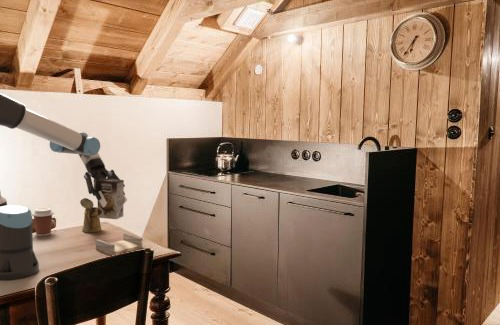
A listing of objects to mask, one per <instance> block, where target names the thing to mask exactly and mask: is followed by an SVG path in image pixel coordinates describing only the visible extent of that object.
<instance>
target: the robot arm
mask: <svg viewBox="0 0 500 325" xmlns="http://www.w3.org/2000/svg"><path fill="white" fill-rule="evenodd" d="M0 126H1V127H6V128H9V129H10V130H11V129H12V130H13V129H14V130H15V129H19V130H21V131H24V132H26V133H29V134H30V135H33V136H36V137H39V138H41V139H44V140H46V141H48V142H49V148H50V150H51V151H52V152H54V153H62V154H75V155H78V156H79V158H80V160H81V162H82V163H83V165H84V167H85V169H86V171H85V173H84V175H83V179H85V182H86V186H87V192H88V194H89V195H91V194H92V196H94V197H95V198H96V200H97V201H98V200H99V201H100V203H101V205H102V207H105V206H106V204H107V202H106V200H105V198H104V196H103V194H102V193H101V191H99V192H98V189H99V187H98V180H101V179H116V180H121V178H119V176H118V175H117V174H116V172H115V171H114V169H111V170H107V168H106V166H105V163H104V161H103V159H102V157H101V156H100V154H99V152H100V149H101V142H100V140H99V139H98V138H97V137H93V136H89V135H88V133H87V132H85V131H84V132H82V131H81V132H78V131H76V130H74V129H72V128H69V127H67V126H65V125H63V124H60V123H59V122H56V121H54V120H51V119H50V118H48V117H46V116H44V115H40V114H39V113H37V112H34V111H32V110H31V109H28V108H26V105H25V104H24V103H22V102H20V101H18V100H15V99H13V98H12V97H9V96H7V95H6V94H4V93H3V94H2V93H0ZM92 178H93V180H92ZM125 186H126V185H125V184H124V188H125ZM125 195H126V193H125V192H124V197H123V205H125V203H126V202H127V201H128V199H127V197H126V196H125ZM7 201H8V200H7V199H6V198H5V197H3V196H2V194H1V191H0V281H1V280H2V281H7V280H8V281H11V280H18V279H23V278H27V277H30V276H33V275H36V273H38V272H39V270H40V263H39V261H38V258H37V256H36V253H35V251H34V246H33V245H34V240H33V239H34V238H33V237H34V235H33V216H32V214H33V212H32V211H31V209H30V208H29V207H27V206H24V205H23V206H22V205H15V204H9V205H8V202H7Z"/></svg>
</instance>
